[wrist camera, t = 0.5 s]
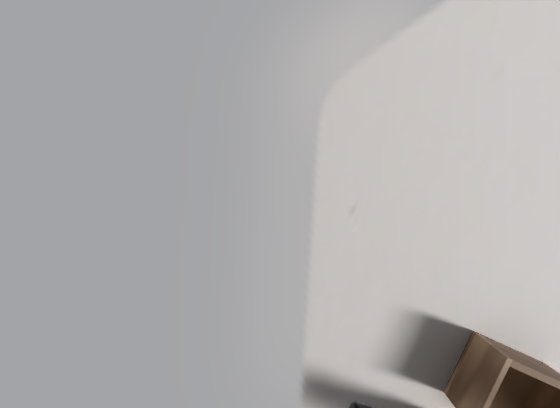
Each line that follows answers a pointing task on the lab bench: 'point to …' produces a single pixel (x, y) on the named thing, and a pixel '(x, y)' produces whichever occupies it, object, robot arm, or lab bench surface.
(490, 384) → the socket
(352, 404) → the robot arm
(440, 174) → the lab bench surface
